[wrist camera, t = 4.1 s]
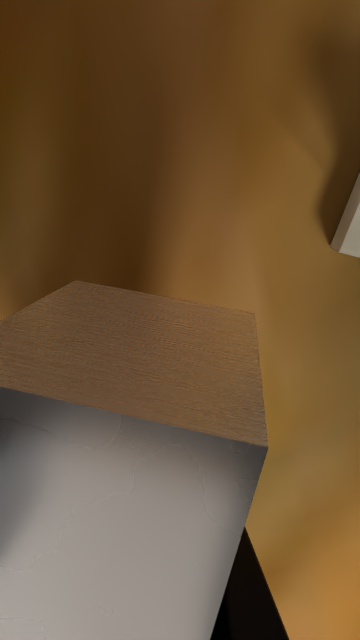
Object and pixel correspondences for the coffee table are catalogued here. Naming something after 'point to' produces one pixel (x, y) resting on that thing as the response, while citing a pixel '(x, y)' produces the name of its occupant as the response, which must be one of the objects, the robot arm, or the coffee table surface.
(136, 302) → the white rectangular block
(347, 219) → the jig
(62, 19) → the coffee table surface
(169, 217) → the coffee table surface
